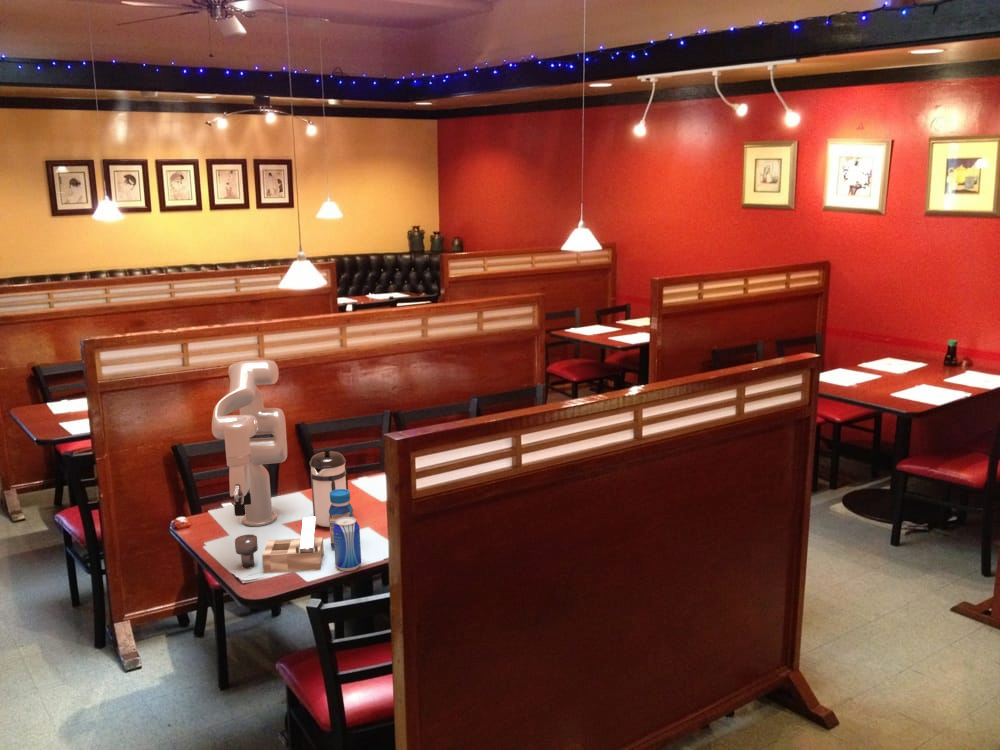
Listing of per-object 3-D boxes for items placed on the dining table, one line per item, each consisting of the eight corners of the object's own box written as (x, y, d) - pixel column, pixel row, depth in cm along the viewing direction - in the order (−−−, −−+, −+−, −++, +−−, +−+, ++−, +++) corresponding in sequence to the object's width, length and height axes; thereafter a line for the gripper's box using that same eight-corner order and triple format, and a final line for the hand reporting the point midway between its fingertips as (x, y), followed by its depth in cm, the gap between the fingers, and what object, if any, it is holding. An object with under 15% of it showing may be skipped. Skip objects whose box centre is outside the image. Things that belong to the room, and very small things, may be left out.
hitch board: (269, 556, 284) (268, 535, 282) (323, 553, 286) (322, 532, 284) (263, 572, 272) (261, 550, 270) (320, 569, 274) (318, 547, 272)
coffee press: (358, 528, 306) (354, 450, 299) (314, 536, 300) (309, 455, 293) (349, 512, 322) (344, 436, 315) (306, 518, 316) (301, 442, 309)
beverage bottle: (360, 544, 292) (357, 490, 288) (343, 553, 285) (340, 498, 281) (342, 539, 297) (339, 486, 292) (325, 548, 290) (321, 493, 285)
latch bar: (303, 519, 282) (303, 516, 281) (315, 519, 283) (315, 516, 282) (300, 553, 272) (299, 550, 271) (313, 553, 273) (312, 550, 272)
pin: (239, 561, 280) (237, 535, 278) (260, 560, 281) (258, 533, 279) (235, 571, 274) (232, 543, 272) (257, 569, 274) (254, 542, 272)
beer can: (332, 563, 278) (330, 518, 274) (357, 559, 281) (355, 514, 278) (338, 574, 270) (336, 527, 267) (364, 569, 274) (362, 523, 270)
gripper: (232, 451, 277) (236, 500, 281) (220, 468, 260) (225, 520, 264) (255, 450, 278) (259, 499, 282) (245, 467, 261) (250, 519, 265)
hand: (243, 509), depth 273 cm, fingers open, 9 cm apart
